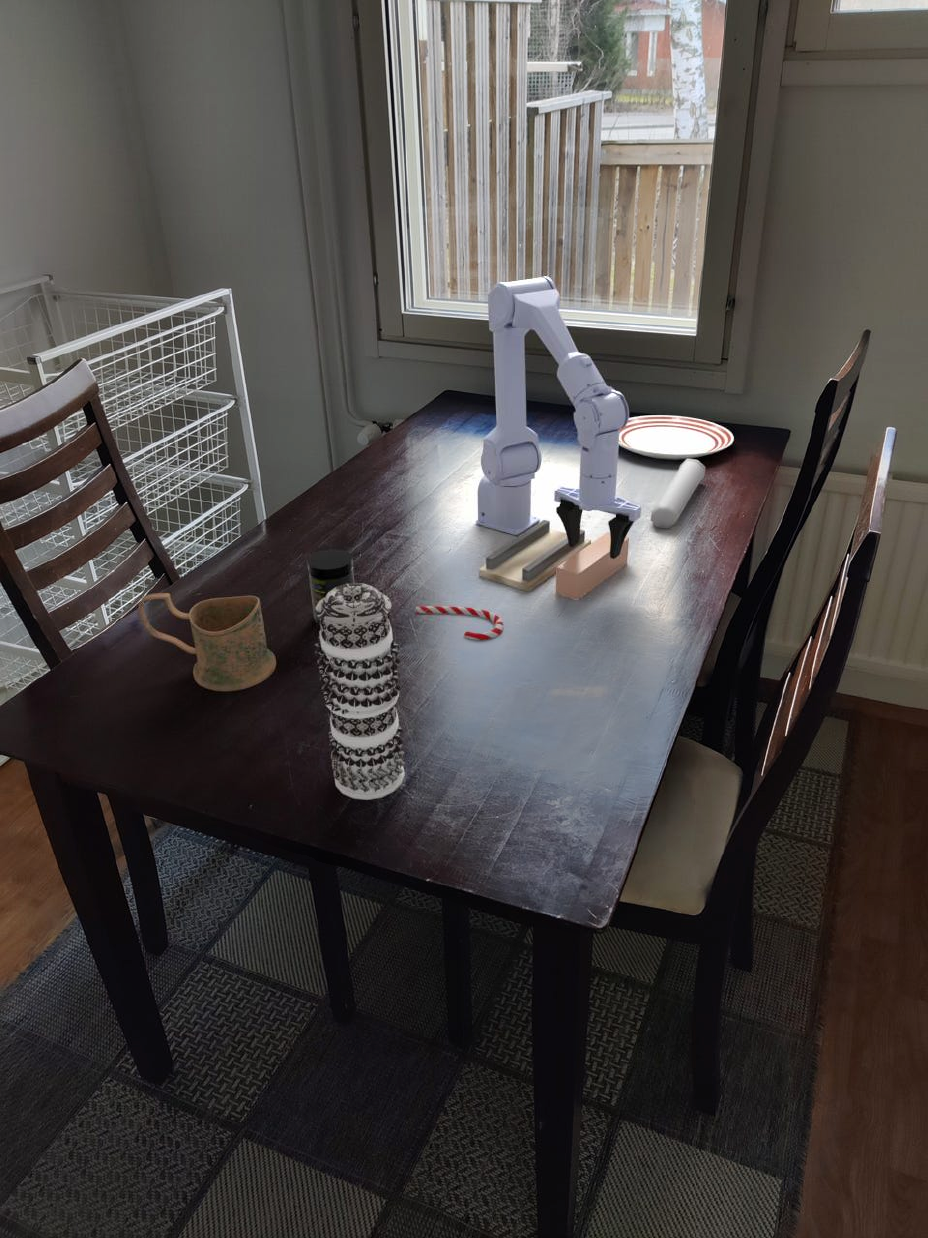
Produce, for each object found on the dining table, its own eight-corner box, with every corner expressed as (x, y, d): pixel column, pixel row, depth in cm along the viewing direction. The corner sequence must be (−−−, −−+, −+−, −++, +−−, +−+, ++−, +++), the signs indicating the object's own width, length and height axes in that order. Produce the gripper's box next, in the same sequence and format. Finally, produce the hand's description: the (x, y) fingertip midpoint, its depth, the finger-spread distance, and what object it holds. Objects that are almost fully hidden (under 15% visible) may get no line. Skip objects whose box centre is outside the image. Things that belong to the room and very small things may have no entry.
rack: (478, 575, 154) (478, 558, 152) (542, 532, 168) (543, 516, 166) (529, 591, 149) (529, 574, 147) (590, 546, 162) (591, 529, 161)
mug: (166, 646, 137) (150, 575, 131) (283, 646, 136) (273, 574, 130) (140, 691, 127) (121, 616, 121) (266, 691, 126) (254, 616, 120)
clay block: (555, 594, 148) (556, 567, 146) (606, 558, 159) (608, 531, 156) (576, 601, 146) (578, 573, 143) (627, 564, 157) (629, 537, 154)
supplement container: (347, 633, 139) (340, 571, 134) (306, 626, 141) (299, 566, 135) (364, 611, 144) (359, 551, 139) (325, 605, 146) (319, 546, 141)
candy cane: (424, 596, 146) (512, 613, 141) (424, 603, 147) (512, 621, 142) (401, 620, 140) (492, 639, 135) (402, 627, 141) (492, 646, 136)
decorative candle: (316, 792, 108) (291, 608, 95) (352, 745, 116) (333, 568, 103) (387, 810, 105) (371, 622, 92) (419, 761, 113) (408, 581, 100)
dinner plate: (640, 418, 222) (641, 405, 220) (751, 439, 208) (753, 425, 206) (584, 453, 203) (585, 438, 201) (701, 478, 189) (703, 463, 187)
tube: (680, 514, 164) (709, 465, 183) (653, 501, 165) (685, 454, 184) (668, 538, 167) (698, 487, 187) (642, 525, 168) (674, 476, 188)
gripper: (544, 470, 144) (543, 548, 151) (628, 489, 136) (622, 571, 143) (568, 456, 149) (565, 533, 156) (649, 474, 141) (643, 554, 148)
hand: (594, 550), depth 150 cm, fingers open, 7 cm apart
